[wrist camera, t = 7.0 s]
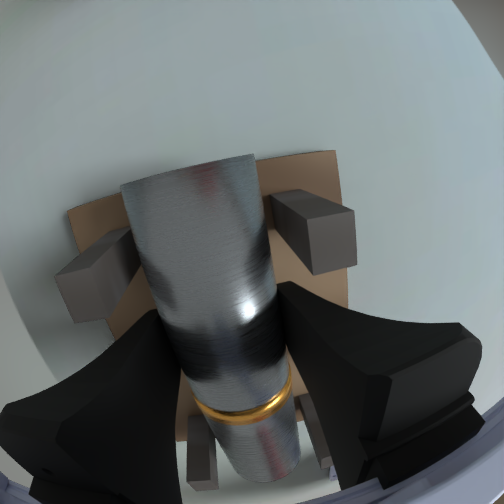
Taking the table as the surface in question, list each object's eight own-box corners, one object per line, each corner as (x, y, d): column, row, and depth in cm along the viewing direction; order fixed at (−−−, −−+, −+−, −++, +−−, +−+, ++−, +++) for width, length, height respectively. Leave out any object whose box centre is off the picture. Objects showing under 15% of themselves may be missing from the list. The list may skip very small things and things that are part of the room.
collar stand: (339, 396, 16) (371, 460, 11) (177, 430, 16) (175, 499, 10) (325, 150, 11) (404, 150, 6) (77, 206, 10) (-1, 243, 5)
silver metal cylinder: (292, 420, 15) (309, 473, 11) (227, 433, 15) (232, 488, 11) (247, 154, 10) (266, 151, 6) (139, 179, 10) (95, 193, 6)
